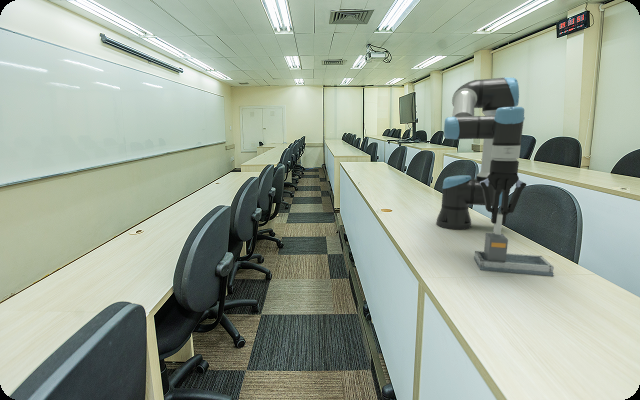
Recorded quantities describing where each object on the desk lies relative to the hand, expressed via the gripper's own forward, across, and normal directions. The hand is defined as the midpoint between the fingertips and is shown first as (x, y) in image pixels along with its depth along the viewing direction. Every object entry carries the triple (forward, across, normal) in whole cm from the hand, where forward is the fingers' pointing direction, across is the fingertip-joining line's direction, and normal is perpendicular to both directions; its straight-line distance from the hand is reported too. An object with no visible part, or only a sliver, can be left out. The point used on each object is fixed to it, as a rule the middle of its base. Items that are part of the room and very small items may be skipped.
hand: (496, 233), depth 102 cm
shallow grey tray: (+11, +5, 0) cm, 12 cm away
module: (+10, 0, 0) cm, 10 cm away
